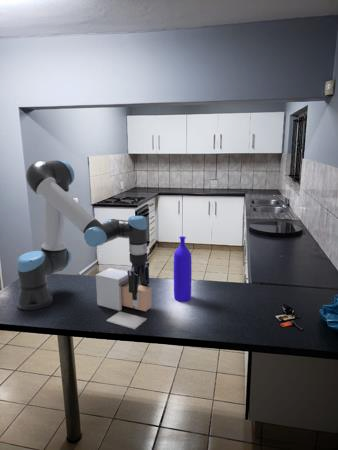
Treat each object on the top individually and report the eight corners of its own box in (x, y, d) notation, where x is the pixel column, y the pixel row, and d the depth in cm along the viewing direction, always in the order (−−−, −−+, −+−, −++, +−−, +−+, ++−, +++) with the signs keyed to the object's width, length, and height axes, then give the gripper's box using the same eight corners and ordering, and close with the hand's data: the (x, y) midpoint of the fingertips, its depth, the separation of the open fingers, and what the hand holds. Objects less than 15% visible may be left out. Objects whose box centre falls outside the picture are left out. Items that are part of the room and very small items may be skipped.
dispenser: (97, 304, 154) (95, 274, 151) (111, 296, 162) (109, 267, 159) (120, 311, 148) (119, 279, 145) (133, 302, 156) (132, 272, 153)
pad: (106, 321, 139) (106, 320, 139) (119, 312, 147) (119, 311, 147) (134, 329, 133) (134, 328, 132) (146, 319, 140) (146, 318, 140)
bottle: (176, 303, 155) (176, 240, 148) (171, 296, 163) (171, 235, 156) (193, 301, 157) (194, 238, 150) (188, 293, 165) (188, 234, 158)
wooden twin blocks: (115, 303, 152) (114, 284, 150) (122, 299, 156) (121, 280, 154) (145, 311, 144) (144, 291, 142) (151, 306, 149) (151, 287, 147)
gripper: (133, 260, 134) (135, 314, 139) (156, 248, 149) (157, 297, 154) (118, 257, 137) (120, 310, 142) (142, 246, 153) (143, 294, 158)
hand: (139, 303), depth 148 cm, fingers closed on wooden twin blocks, 5 cm apart
